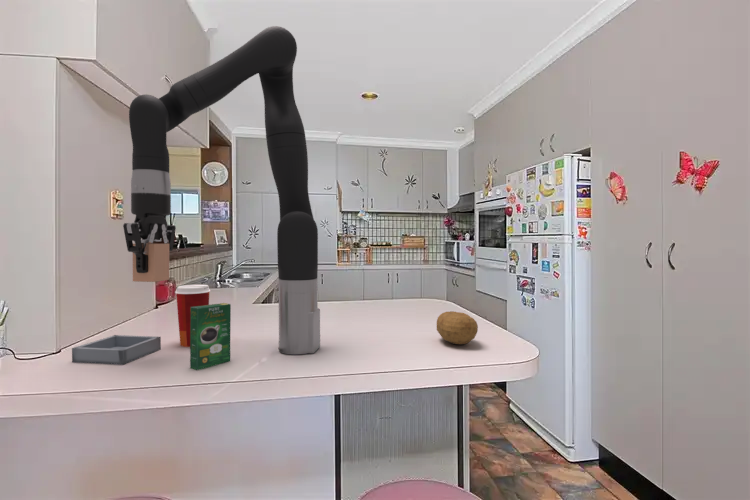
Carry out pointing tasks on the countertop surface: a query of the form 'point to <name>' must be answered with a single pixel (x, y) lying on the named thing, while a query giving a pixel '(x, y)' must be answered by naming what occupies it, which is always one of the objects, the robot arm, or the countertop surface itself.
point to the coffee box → (210, 335)
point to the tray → (116, 349)
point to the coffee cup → (189, 307)
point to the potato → (457, 327)
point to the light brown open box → (154, 264)
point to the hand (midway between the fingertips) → (151, 271)
